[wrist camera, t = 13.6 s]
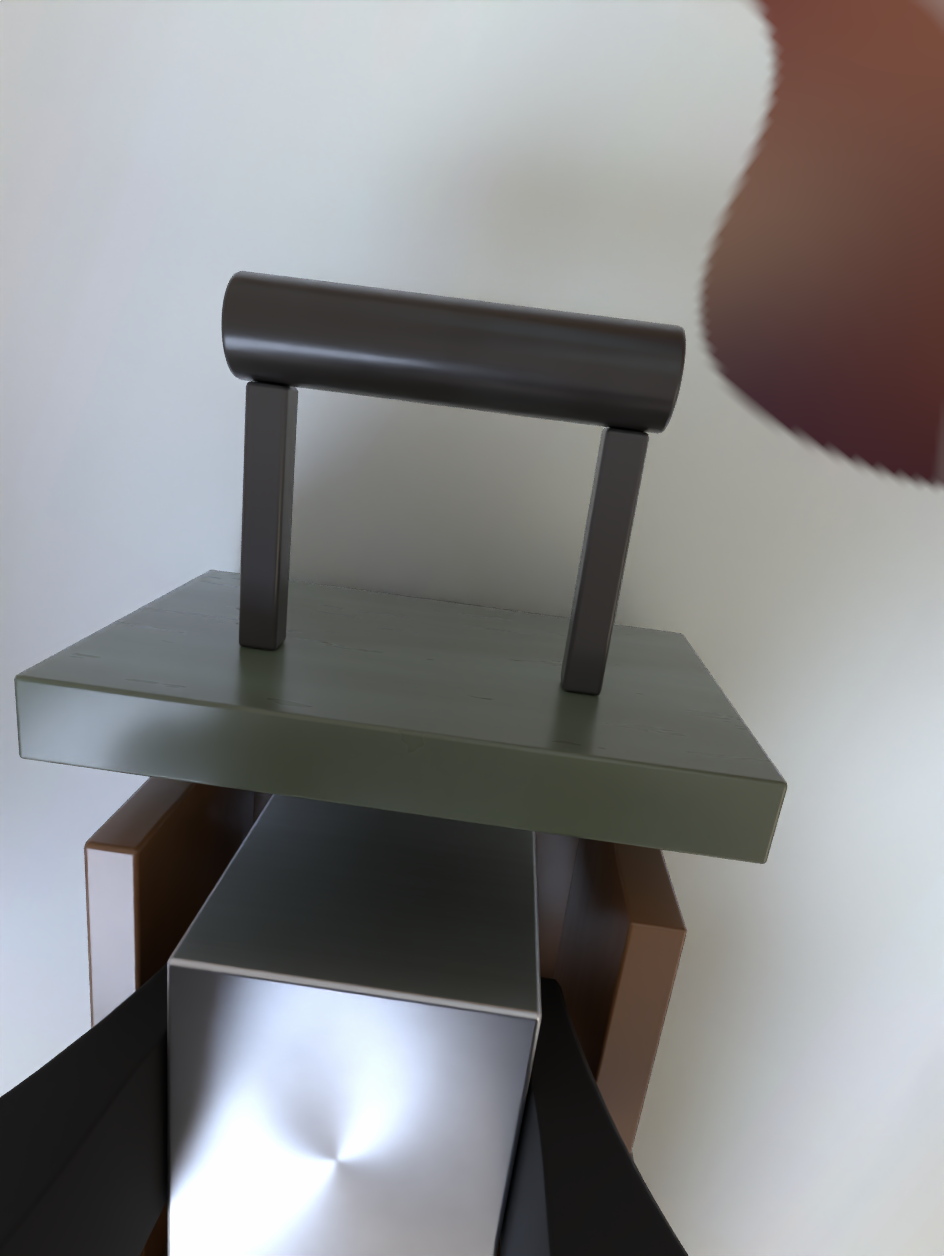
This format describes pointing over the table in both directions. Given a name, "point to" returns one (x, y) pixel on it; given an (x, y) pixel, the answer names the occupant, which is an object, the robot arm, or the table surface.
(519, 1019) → the shiny metal block
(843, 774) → the table surface
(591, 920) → the drawer
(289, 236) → the table surface
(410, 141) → the table surface
